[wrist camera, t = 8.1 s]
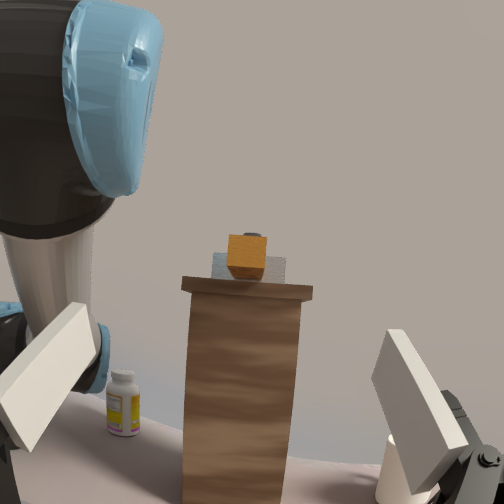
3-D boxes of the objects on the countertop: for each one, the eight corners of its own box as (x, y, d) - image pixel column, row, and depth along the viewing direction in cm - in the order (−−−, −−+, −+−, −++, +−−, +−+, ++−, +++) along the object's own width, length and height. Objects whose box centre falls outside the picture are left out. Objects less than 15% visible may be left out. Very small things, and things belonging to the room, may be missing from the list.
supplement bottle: (136, 425, 56) (137, 368, 59) (142, 437, 51) (143, 376, 53) (105, 424, 53) (105, 366, 56) (108, 437, 48) (108, 374, 50)
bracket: (296, 273, 25) (299, 190, 26) (194, 266, 25) (204, 183, 27) (277, 291, 45) (280, 242, 46) (220, 286, 45) (224, 238, 46)
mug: (363, 478, 39) (374, 423, 41) (410, 473, 38) (422, 420, 40) (380, 516, 27) (397, 452, 29) (435, 507, 26) (455, 444, 28)
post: (286, 521, 28) (312, 285, 34) (173, 511, 29) (182, 275, 34) (278, 474, 42) (295, 293, 48) (191, 466, 42) (202, 286, 48)
